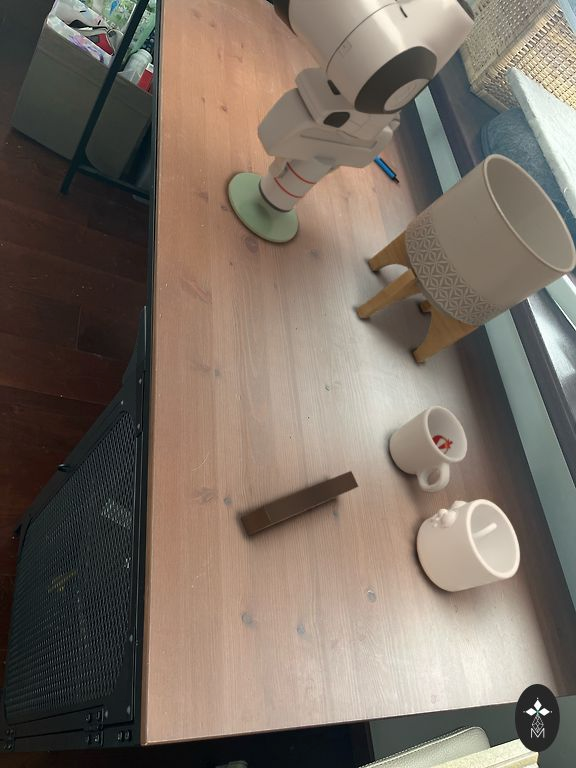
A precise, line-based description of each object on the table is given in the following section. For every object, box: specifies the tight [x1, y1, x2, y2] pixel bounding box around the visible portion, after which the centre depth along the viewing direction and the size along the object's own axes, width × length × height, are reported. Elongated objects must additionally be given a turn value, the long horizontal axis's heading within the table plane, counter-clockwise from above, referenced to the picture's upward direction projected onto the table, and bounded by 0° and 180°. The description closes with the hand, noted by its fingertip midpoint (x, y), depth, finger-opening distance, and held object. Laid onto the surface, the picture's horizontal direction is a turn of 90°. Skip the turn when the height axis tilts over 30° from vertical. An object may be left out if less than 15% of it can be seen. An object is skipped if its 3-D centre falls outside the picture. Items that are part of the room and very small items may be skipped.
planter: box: [356, 153, 576, 363], centre depth 91 cm, size 19×19×26 cm
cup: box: [389, 405, 468, 493], centre depth 82 cm, size 11×8×8 cm
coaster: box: [227, 171, 299, 243], centre depth 91 cm, size 12×12×1 cm
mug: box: [416, 498, 521, 592], centre depth 79 cm, size 12×10×9 cm
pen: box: [374, 155, 400, 184], centre depth 118 cm, size 1×19×1 cm, turn 63°
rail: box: [240, 470, 359, 536], centre depth 68 cm, size 14×2×4 cm, turn 120°
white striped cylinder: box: [258, 157, 336, 213], centre depth 85 cm, size 6×11×11 cm
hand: (292, 176), depth 86 cm, fingers closed on white striped cylinder, 6 cm apart
